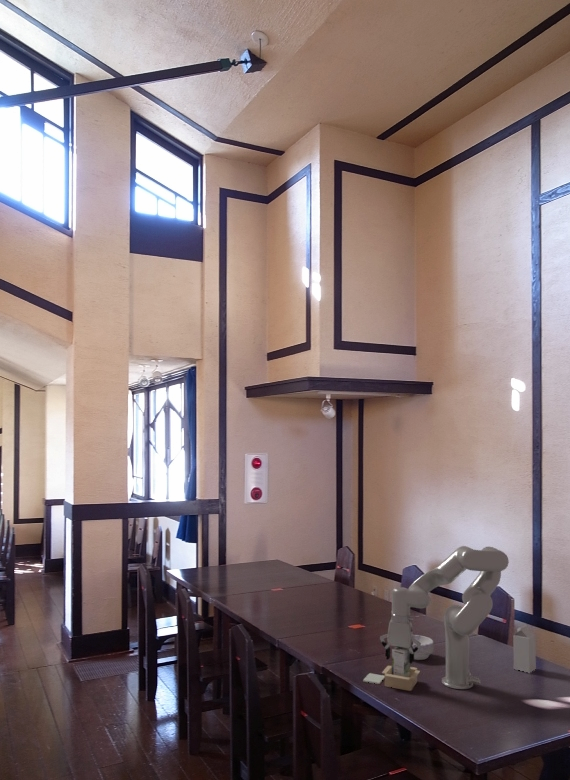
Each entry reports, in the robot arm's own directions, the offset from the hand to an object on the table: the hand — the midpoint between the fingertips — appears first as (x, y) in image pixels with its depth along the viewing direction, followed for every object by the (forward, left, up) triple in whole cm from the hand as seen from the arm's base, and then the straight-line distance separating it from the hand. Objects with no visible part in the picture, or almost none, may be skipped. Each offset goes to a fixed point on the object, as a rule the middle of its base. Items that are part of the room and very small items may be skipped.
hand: (399, 660), depth 263 cm
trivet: (+11, 0, -9) cm, 14 cm away
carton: (-1, 0, -9) cm, 9 cm away
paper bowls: (+1, -37, -10) cm, 39 cm away
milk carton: (-46, -42, -10) cm, 63 cm away
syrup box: (-1, 0, -10) cm, 10 cm away
